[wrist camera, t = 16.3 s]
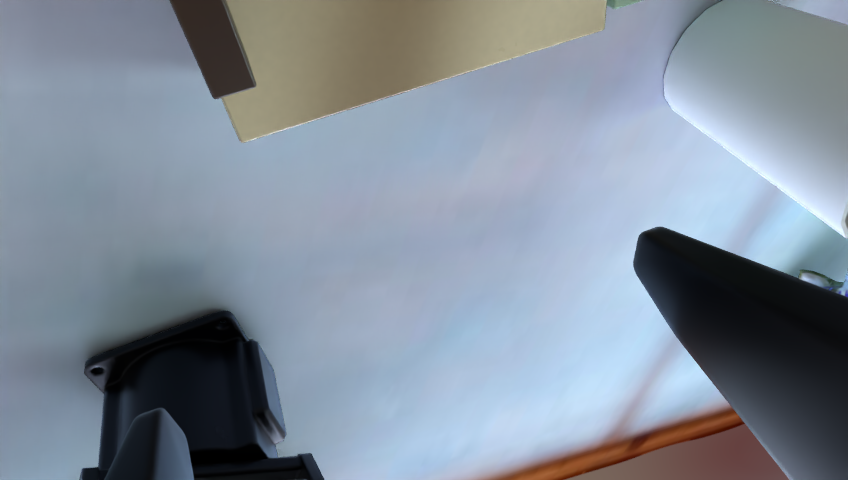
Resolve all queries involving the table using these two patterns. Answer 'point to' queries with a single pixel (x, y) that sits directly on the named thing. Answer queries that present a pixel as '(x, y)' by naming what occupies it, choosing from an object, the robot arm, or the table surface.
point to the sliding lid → (358, 49)
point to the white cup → (771, 96)
